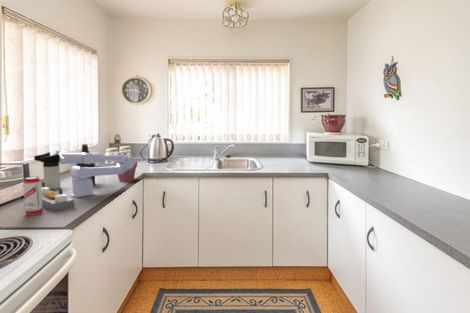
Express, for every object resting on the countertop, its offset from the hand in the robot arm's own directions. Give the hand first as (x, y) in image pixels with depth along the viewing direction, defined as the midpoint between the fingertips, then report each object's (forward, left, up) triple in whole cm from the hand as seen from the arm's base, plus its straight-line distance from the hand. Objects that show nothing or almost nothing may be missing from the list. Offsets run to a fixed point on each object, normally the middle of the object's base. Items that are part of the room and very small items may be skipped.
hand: (37, 158), depth 144 cm
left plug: (-3, -4, -18) cm, 19 cm away
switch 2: (-3, +9, -18) cm, 21 cm away
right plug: (-3, +16, -18) cm, 24 cm away
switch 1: (-3, +2, -18) cm, 19 cm away
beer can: (+8, +15, -22) cm, 28 cm away
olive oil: (-33, -22, -22) cm, 45 cm away
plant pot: (-56, -15, -22) cm, 62 cm away
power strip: (-3, +6, -22) cm, 23 cm away
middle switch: (-3, +6, -18) cm, 19 cm away
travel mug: (-16, -28, -22) cm, 39 cm away
